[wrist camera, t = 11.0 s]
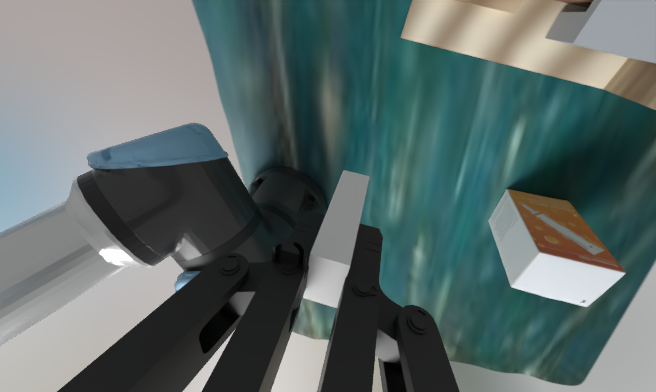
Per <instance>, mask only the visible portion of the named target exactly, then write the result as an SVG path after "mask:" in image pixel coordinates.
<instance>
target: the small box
mask: <svg viewBox="0 0 656 392" xmlns="http://www.w3.org/2000/svg"><path fill="white" fill-rule="evenodd" d="M489 224H490V227H491V230H492V233H493V236H494V239H495V242H496V245H497V247H498V250H499V253H500V256H501V259H502V262H503V265H504V268H505V270H506V273H507V276H508V279H509V282H510V286H511V287H512V288H516V289H519V290H523V291H526V292H530V293H534V294H537V295H540V296H543V297H547V298H550V299H555V300H560V301H564V302H568V303H572V304H576V305H580V306H584V307H587V306H588V305H590V304H591V303H592V302H594V301H595V300H596V299H597V298H598V297H599V296H601V295H602V294H603V293H604V292H605V291H606V290H608V289H609V288H610V287H611V286H612V285H613V284H614V283H616V282H617V281H618V280H619V279H620V278H621V277H622V276H623V275H625V274H626V272H625V271H624V270H623V268H622V267H621V266H620V265H619V264H618V262H617V261H616V260H615V259H614V257H613V256H612V255H611V254H610V252H609V251H608V250H607V248H606V247H605V246H604V245H603V243H602V242H601V241H600V240H599V238H598V237H597V236H596V235H595V233H594V232H593V231H592V230H591V228H590V227H589V226H588V225H587V223H586V222H585V221H584V220H583V218H582V217H581V216H580V215H579V213H578V212H577V211H576V210H575V208H574V207H573V206H572V205H571V203H570V202H569V201H567V200H560V199H555V198H549V197H544V196H539V195H534V194H530V193H525V192H520V191H516V190H511V189H506V191H505V193H504V194H503V196H502V198H501V200H500V201H499V203H498V205H497V206H496V208H495V210H494V212H493V213H492V215H491V217H490V219H489Z"/></svg>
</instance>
